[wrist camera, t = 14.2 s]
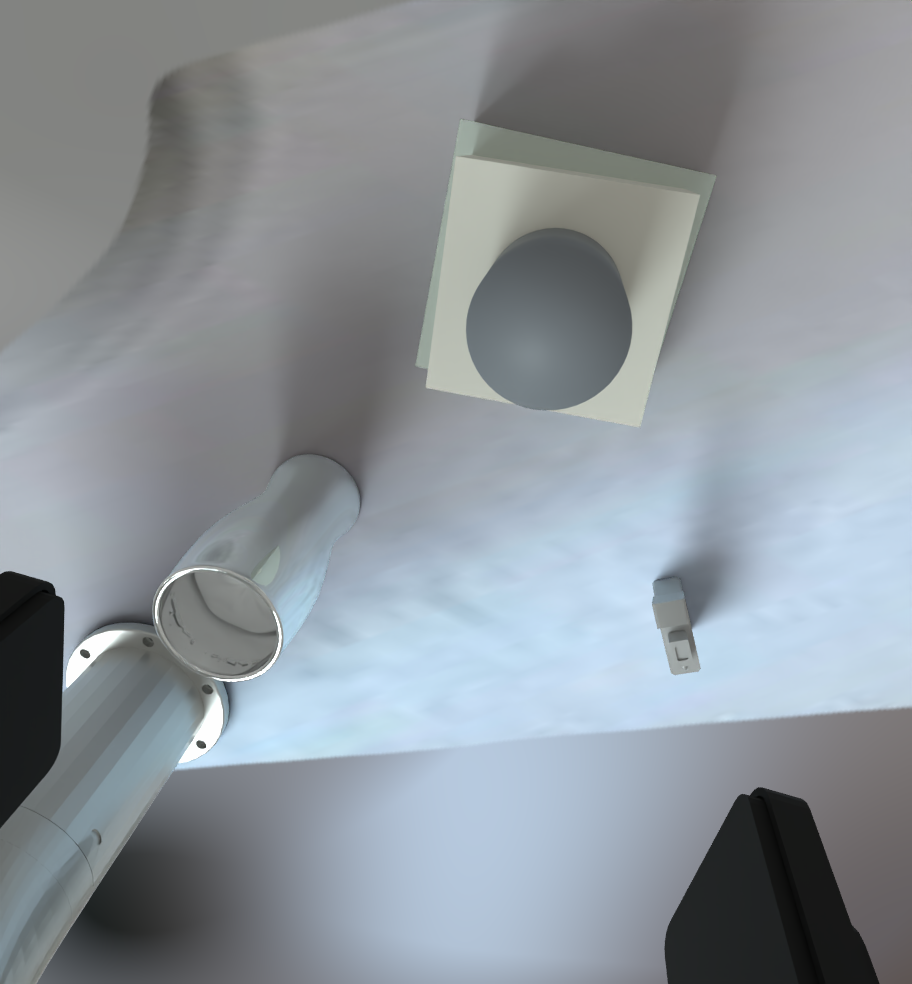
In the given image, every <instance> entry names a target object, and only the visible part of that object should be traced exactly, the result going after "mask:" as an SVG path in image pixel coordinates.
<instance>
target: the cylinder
mask: <svg viewBox="0 0 912 984" xmlns="http://www.w3.org/2000/svg"><path fill="white" fill-rule="evenodd" d="M466 338H467V345H468V350H469V353H470V356H471V359H472V361H473V363H474V365H475V367H476V369H477V371H478V373H479V374H480V376H481V377H482V379H483V380H484V381H485V382H486V383H487V384H488V385H489V387H491V388H492V389H493V390H494V391H495V392H496V393H497V394H499V395H500V396H502V397H503V398H505V399H506V400H508V401H510V402H512V403H514V404H517V405H520V406H522V407H526V408H530V409H535V410H560V409H566V408H570V407H573V406H576V405H579V404H581V403H583V402H586V401H587V400H589V399H591V398H593V397H594V396H596V395H597V394H598V393H600V392H601V391H602V390H604V389H605V388H606V387H607V386H608V385H609V384H610V383H611V382H612V380H613V379H614V378H615V376H616V375H617V374H618V372H619V371H620V369H621V367H622V366H623V364H624V362H625V359H626V357H627V355H628V351H629V348H630V344H631V338H632V315H631V309H630V305H629V302H628V298H627V295H626V292H625V289H624V286H623V282H622V279H621V276H620V273H619V271H618V268H617V266H616V264H615V262H614V261H613V259H612V257H611V256H610V255H609V254H608V252H607V251H606V250H605V249H604V248H603V247H602V246H601V245H600V244H599V243H598V242H596V241H595V240H593V239H592V238H590V237H588V236H587V235H585V234H583V233H580V232H577V231H574V230H570V229H565V228H546V229H541V230H536V231H534V232H531V233H528V234H526V235H524V236H522V237H520V238H518V239H517V240H515V241H514V242H512V243H511V244H510V245H509V246H508V247H507V248H506V249H504V251H503V252H502V253H501V254H500V255H499V256H498V258H497V259H496V261H495V262H494V264H493V265H492V267H491V268H490V269H489V271H488V272H487V274H486V275H485V277H484V278H483V280H482V281H481V283H480V284H479V286H478V287H477V289H476V291H475V293H474V295H473V297H472V300H471V303H470V306H469V309H468V314H467V319H466Z"/></svg>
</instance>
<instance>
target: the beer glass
mask: <svg viewBox="0 0 912 984" xmlns="http://www.w3.org/2000/svg"><path fill="white" fill-rule="evenodd" d="M359 510H360V495H359V491H358V488H357V485H356V483H355V481H354V480H353V478H352V477H351V475H350V474H349V473H348V472H347V471H346V470H345V469H344V468H343V467H342V466H341V465H339V464H338V463H337V462H335V461H333V460H331V459H329V458H327V457H324V456H320V455H314V454H304V455H298V456H295V457H292V458H290V459H288V460H287V461H285V462H284V463H282V464H281V465H280V466H279V467H278V468H277V469H276V471H275V472H274V474H273V475H272V477H271V479H270V481H269V484H268V486H267V488H266V490H265V492H264V493H263V494H261V495H260V496H258V497H256V498H254V499H253V500H251V501H249V502H247V503H245V504H244V505H242V506H240V507H238V508H237V509H235V510H233V511H232V512H230V513H229V514H227V515H226V516H224V517H223V518H221V519H220V520H218V521H217V522H216V523H214V524H213V525H212V526H211V527H210V528H209V529H208V530H207V531H206V532H205V533H204V534H202V535H201V536H200V537H199V538H198V540H197V541H196V542H195V543H194V544H193V545H192V546H191V547H190V549H189V550H188V551H187V552H186V553H185V554H184V556H183V557H182V558H181V560H180V561H179V562H178V563H177V565H176V566H175V567H174V569H173V570H172V572H171V573H170V574H169V576H168V577H167V578H166V579H165V580H164V581H163V582H162V583H161V584H160V586H159V587H158V589H157V591H156V593H155V596H154V600H153V605H152V616H153V622H154V626H155V629H156V631H157V634H158V636H159V638H160V640H161V641H162V643H163V645H164V646H165V647H166V649H167V650H168V651H169V652H170V653H171V655H172V656H173V657H174V658H175V659H177V660H178V661H179V662H180V663H181V664H183V665H184V666H185V667H187V668H188V669H190V670H192V671H194V672H195V673H197V674H200V675H202V676H204V677H207V678H210V679H214V680H219V681H226V682H239V681H246V680H250V679H253V678H256V677H258V676H260V675H262V674H263V673H265V672H266V671H268V670H269V669H270V668H271V667H272V666H273V665H274V664H275V662H276V661H277V659H278V658H279V656H280V654H281V653H282V652H283V650H284V649H285V648H286V647H287V645H288V644H289V643H290V641H291V640H292V639H293V637H294V636H295V635H296V633H297V632H298V631H299V629H300V628H301V626H302V625H303V623H304V621H305V620H306V618H307V617H308V615H309V614H310V612H311V610H312V608H313V606H314V604H315V602H316V600H317V598H318V596H319V593H320V590H321V588H322V585H323V582H324V579H325V576H326V572H327V568H328V564H329V560H330V556H331V551H332V548H333V545H334V543H335V542H336V541H337V540H338V539H339V538H340V537H341V536H343V535H344V534H345V533H346V532H347V531H349V530H350V529H351V527H352V526H353V525H354V523H355V521H356V519H357V517H358V514H359Z"/></svg>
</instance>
